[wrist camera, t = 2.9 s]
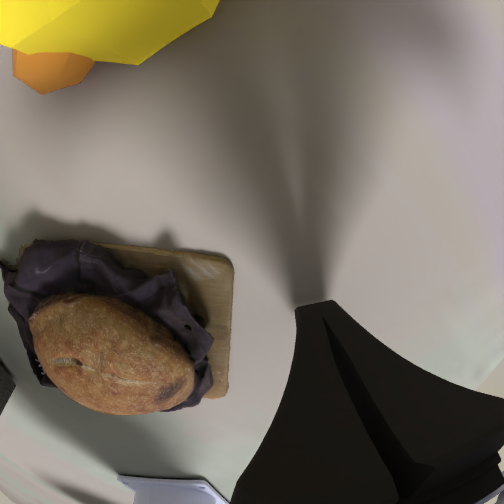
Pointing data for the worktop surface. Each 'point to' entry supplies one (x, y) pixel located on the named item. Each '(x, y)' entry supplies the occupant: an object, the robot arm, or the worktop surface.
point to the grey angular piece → (5, 388)
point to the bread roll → (123, 323)
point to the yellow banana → (90, 34)
